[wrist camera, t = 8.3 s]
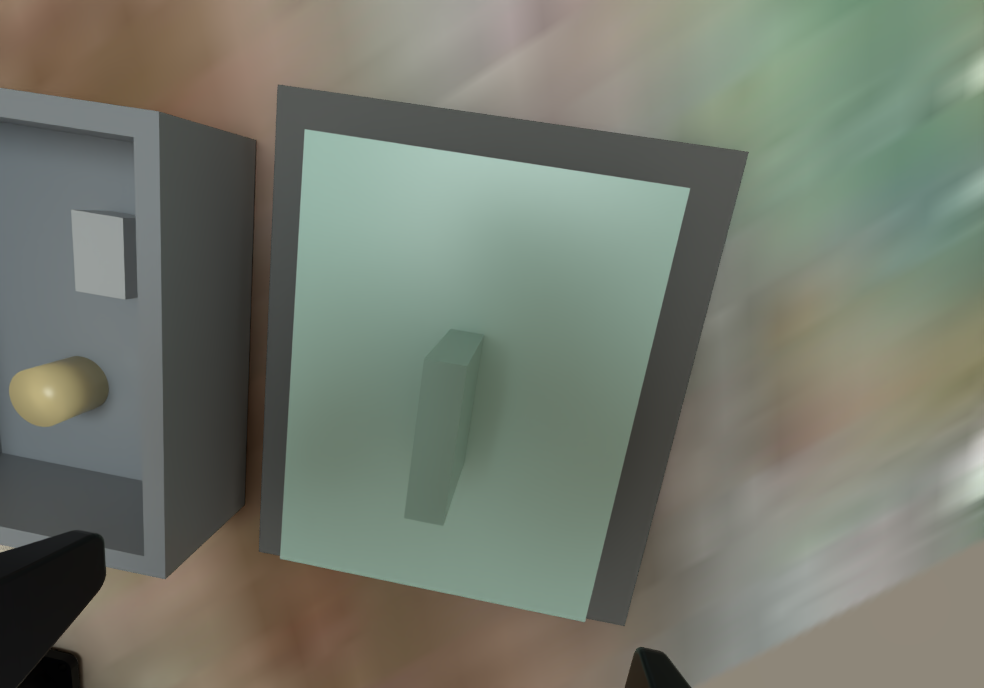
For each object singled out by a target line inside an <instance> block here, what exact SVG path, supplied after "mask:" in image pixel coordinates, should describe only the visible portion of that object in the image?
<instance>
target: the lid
mask: <svg viewBox="0 0 984 688" xmlns="http://www.w3.org/2000/svg"><path fill="white" fill-rule="evenodd" d="M689 192H690V188H686V187H679V186H673V185H666V184H660V183H653V182H647V181H640V180H633V179H627V178H620V177H614V176H607V175H601V174H594V173H588V172H581V171H575V170H568V169H562V168H555V167H549V166H542V165H535V164H529V163H522V162H516V161H509V160H503V159H496V158H490V157H483V156H477V155H470V154H464V153H457V152H451V151H444V150H437V149H431V148H424V147H418V146H411V145H405V144H398V143H392V142H385V141H379V140H372V139H366V138H359V137H353V136H346V135H339V134H333V133H326V132H320V131H313V130H307V129H305V132H304V150H303V167H302V185H301V202H300V219H299V237H298V254H297V272H296V289H295V306H294V324H293V341H292V359H291V376H290V393H289V411H288V428H287V446H286V463H285V480H284V498H283V515H282V533H281V550H280V559H284V560H289V561H294V562H298V563H303V564H308V565H313V566H318V567H322V568H327V569H332V570H337V571H342V572H347V573H351V574H356V575H361V576H366V577H371V578H375V579H380V580H385V581H390V582H395V583H399V584H404V585H409V586H414V587H419V588H423V589H428V590H433V591H438V592H443V593H447V594H452V595H457V596H462V597H467V598H471V599H476V600H481V601H486V602H491V603H495V604H500V605H505V606H510V607H515V608H519V609H524V610H529V611H534V612H539V613H543V614H548V615H553V616H558V617H563V618H567V619H572V620H577V621H582V622H585V620H586V615H587V611H588V607H589V603H590V599H591V595H592V591H593V587H594V583H595V578H596V574H597V570H598V566H599V562H600V558H601V554H602V550H603V546H604V541H605V537H606V533H607V529H608V525H609V521H610V517H611V513H612V508H613V504H614V500H615V496H616V492H617V488H618V484H619V480H620V476H621V471H622V467H623V463H624V459H625V455H626V451H627V447H628V443H629V439H630V434H631V430H632V426H633V422H634V418H635V414H636V410H637V406H638V401H639V397H640V393H641V389H642V385H643V381H644V377H645V373H646V369H647V364H648V360H649V356H650V352H651V348H652V344H653V340H654V336H655V332H656V327H657V323H658V319H659V315H660V311H661V307H662V303H663V299H664V295H665V290H666V286H667V282H668V278H669V274H670V270H671V266H672V262H673V257H674V253H675V249H676V245H677V241H678V237H679V233H680V229H681V225H682V220H683V216H684V212H685V208H686V204H687V200H688V196H689Z"/></svg>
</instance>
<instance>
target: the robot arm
mask: <svg viewBox="0 0 984 688" xmlns="http://www.w3.org/2000/svg"><path fill="white" fill-rule="evenodd" d="M105 577H106V561H105V542H104V538H103V537H102V535H100V534H99V533H95V532H90V531H85V530H72V531H68V532H65V533H62V534H59V535H56V536H52V537H49V538H46V539H43V540H40V541H36V542H33V543H30V544H27V545H24V546H20V547H17V548H14V549H11V550H8V551H5V552H1V553H0V688H80V683H79V668H78V661H77V659H76V658H75V657H74V656H73V655H71V654H68V653H64V652H59V651H55V650H50V649H51V647H52V646H53V645H54V644H55V643H56V642H57V640H58V639H59V638H60V637H61V636H62V634H63V633H64V632H65V631H66V630H67V628H68V627H69V626H70V625H71V624H72V622H73V621H74V620H75V619H76V618H77V616H78V615H79V614H80V613H81V612H82V610H83V609H84V608H85V607H86V606H87V604H88V603H89V602H90V601H91V600H92V599H93V597H94V596H95V595H96V594H97V593H98V591H99V590H100V588H101V587H102V585H103V583H104V580H105ZM625 688H691V687H690V685H689V684H688V683H687V681H686V680H685V679H684V677H683V676H682V675H681V673H680V672H679V671H678V670H677V668H676V667H675V666H674V664H673V663H672V662H671V660H670V659H669V658H668V657H667V655H666V654H664V653H663V652H661V651H658V650H653V649H648V648H644V647H639V648H637V649H636V651H635V653H634V656H633V659H632V663H631V667H630V670H629V674H628V677H627V681H626V685H625Z"/></svg>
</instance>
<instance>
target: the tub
mask: <svg viewBox="0 0 984 688" xmlns="http://www.w3.org/2000/svg"><path fill="white" fill-rule="evenodd" d="M255 156H256V140H254V139H250V138H247V137H243V136H240V135H237V134H233V133H230V132H226V131H223V130H220V129H216V128H213V127H209V126H206V125H203V124H199V123H196V122H192V121H189V120H186V119H182V118H179V117H176V116H172V115H169V114H165V113H162V112H158V111H151V110H145V109H138V108H131V107H125V106H118V105H111V104H104V103H98V102H91V101H84V100H78V99H71V98H64V97H57V96H51V95H44V94H37V93H31V92H24V91H17V90H11V89H4V88H0V545H5V546H10V547H15V548H17V547H20V546H24V545H27V544H30V543H33V542H36V541H40V540H43V539H46V538H49V537H52V536H56V535H59V534H62V533H65V532H68V531H72V530H85V531H90V532H95V533H99V534H100V535H102V537H103V538H104V542H105V561H106V567H110V568H114V569H119V570H124V571H129V572H133V573H138V574H143V575H148V576H152V577H157V578H162V579H166V578H167V577H168V576H169V575H170V574H171V573H172V572H174V571H175V570H176V569H177V568H178V567H179V566H180V565H181V564H182V563H183V562H184V561H185V560H186V559H187V558H188V557H190V556H191V555H192V554H193V553H194V552H195V551H196V550H197V549H198V548H199V547H200V546H201V545H202V544H203V543H204V542H206V541H207V540H208V539H209V538H210V537H211V536H212V535H213V534H214V533H215V532H216V531H217V530H218V529H219V528H220V527H222V526H223V525H224V524H225V523H226V522H227V521H228V520H229V519H230V518H231V517H232V516H233V515H234V514H235V513H237V512H238V511H239V510H240V509H241V508H242V507H243V506H244V505H245V476H246V444H247V412H248V380H249V348H250V316H251V284H252V252H253V220H254V188H255Z"/></svg>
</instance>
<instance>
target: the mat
mask: <svg viewBox="0 0 984 688" xmlns="http://www.w3.org/2000/svg"><path fill="white" fill-rule="evenodd" d="M305 129H307V130H313V131H320V132H326V133H333V134H339V135H346V136H353V137H359V138H366V139H372V140H379V141H385V142H392V143H398V144H405V145H411V146H418V147H424V148H431V149H437V150H444V151H451V152H457V153H464V154H470V155H477V156H483V157H490V158H496V159H503V160H509V161H516V162H522V163H529V164H535V165H542V166H549V167H555V168H562V169H568V170H575V171H581V172H588V173H594V174H601V175H607V176H614V177H620V178H627V179H633V180H640V181H647V182H653V183H660V184H666V185H673V186H679V187H686V188H690V192H689V196H688V200H687V204H686V208H685V212H684V216H683V220H682V225H681V229H680V233H679V237H678V241H677V245H676V249H675V253H674V257H673V262H672V266H671V270H670V274H669V278H668V282H667V286H666V290H665V295H664V299H663V303H662V307H661V311H660V315H659V319H658V323H657V327H656V332H655V336H654V340H653V344H652V348H651V352H650V356H649V360H648V364H647V369H646V373H645V377H644V381H643V385H642V389H641V393H640V397H639V401H638V406H637V410H636V414H635V418H634V422H633V426H632V430H631V434H630V439H629V443H628V447H627V451H626V455H625V459H624V463H623V467H622V471H621V476H620V480H619V484H618V488H617V492H616V496H615V500H614V504H613V508H612V513H611V517H610V521H609V525H608V529H607V533H606V537H605V541H604V546H603V550H602V554H601V558H600V562H599V566H598V570H597V574H596V578H595V583H594V587H593V591H592V595H591V599H590V603H589V607H588V611H587V615H586V618H587V619H592V620H597V621H602V622H607V623H612V624H617V625H622V626H625V622H626V618H627V614H628V610H629V607H630V603H631V599H632V595H633V591H634V588H635V584H636V580H637V576H638V572H639V568H640V565H641V561H642V557H643V553H644V549H645V546H646V542H647V538H648V534H649V530H650V527H651V523H652V519H653V515H654V511H655V507H656V504H657V500H658V496H659V492H660V488H661V485H662V481H663V477H664V473H665V469H666V465H667V462H668V458H669V454H670V450H671V446H672V443H673V439H674V435H675V431H676V427H677V424H678V420H679V416H680V412H681V408H682V404H683V401H684V397H685V393H686V389H687V385H688V382H689V378H690V374H691V370H692V366H693V362H694V359H695V355H696V351H697V347H698V343H699V340H700V336H701V332H702V328H703V324H704V320H705V317H706V313H707V309H708V305H709V301H710V298H711V294H712V290H713V286H714V282H715V279H716V275H717V271H718V267H719V263H720V259H721V256H722V252H723V248H724V244H725V240H726V237H727V233H728V229H729V225H730V221H731V217H732V214H733V210H734V206H735V202H736V198H737V195H738V191H739V187H740V183H741V179H742V176H743V172H744V168H745V164H746V160H747V156H748V153H749V152H745V151H738V150H731V149H724V148H717V147H710V146H703V145H696V144H689V143H682V142H675V141H668V140H661V139H654V138H647V137H640V136H633V135H626V134H619V133H612V132H605V131H598V130H591V129H584V128H577V127H570V126H563V125H556V124H550V123H543V122H536V121H529V120H522V119H515V118H508V117H501V116H494V115H487V114H480V113H473V112H466V111H459V110H452V109H445V108H438V107H431V106H424V105H417V104H410V103H403V102H396V101H389V100H382V99H375V98H368V97H361V96H354V95H347V94H340V93H333V92H326V91H319V90H312V89H305V88H298V87H291V86H284V85H278V90H277V115H276V140H275V165H274V189H273V214H272V239H271V264H270V289H269V313H268V338H267V363H266V388H265V412H264V437H263V462H262V487H261V511H260V536H259V552H264V553H269V554H274V555H279V556H280V550H281V533H282V515H283V498H284V480H285V463H286V446H287V428H288V411H289V393H290V376H291V359H292V341H293V324H294V306H295V289H296V272H297V254H298V237H299V219H300V202H301V185H302V167H303V150H304V132H305Z"/></svg>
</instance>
